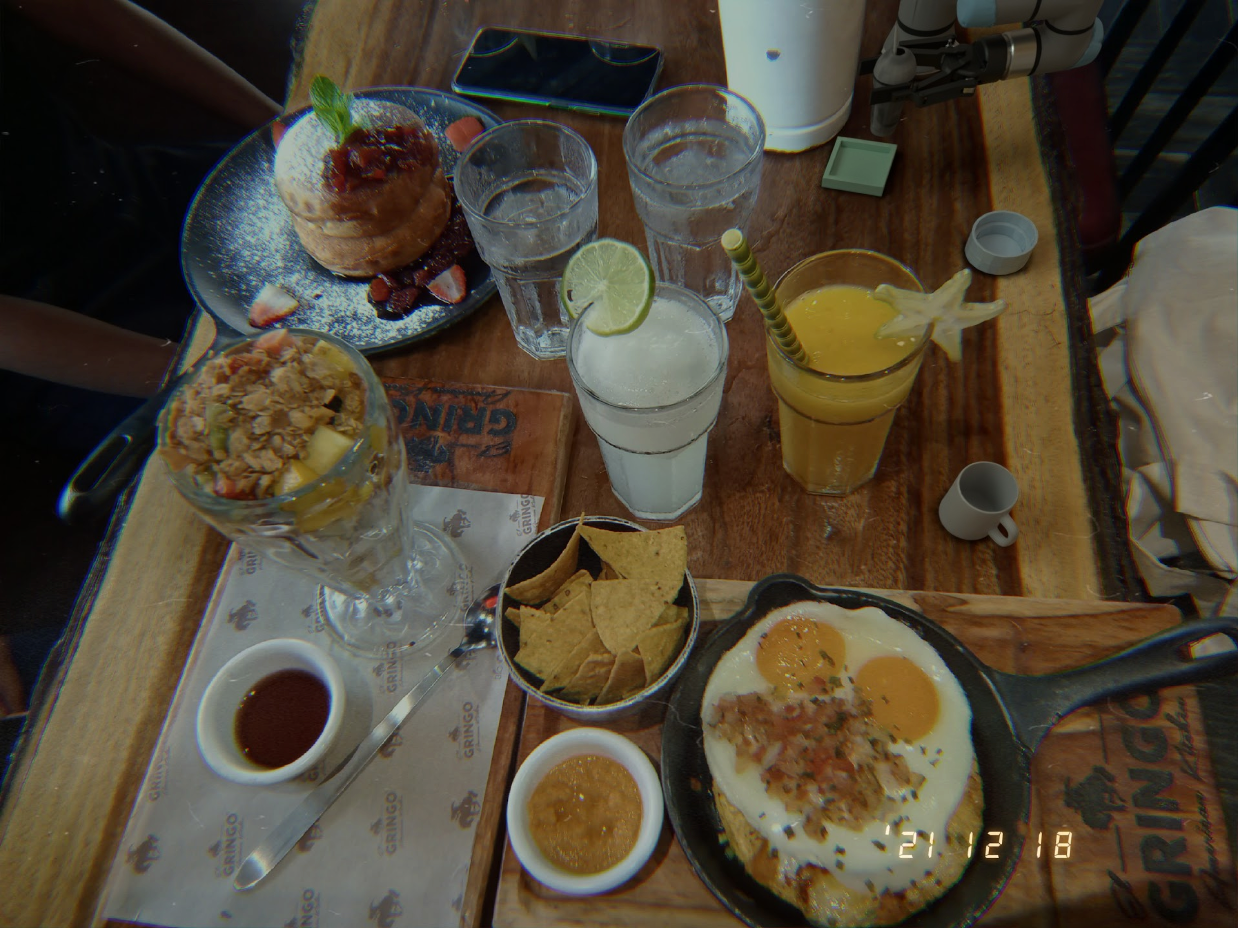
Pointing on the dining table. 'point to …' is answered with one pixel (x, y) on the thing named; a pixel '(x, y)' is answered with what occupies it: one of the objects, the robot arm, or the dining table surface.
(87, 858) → the dining table surface
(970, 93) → the robot arm
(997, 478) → the mug
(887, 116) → the beverage cup
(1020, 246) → the bowl
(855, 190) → the tray
